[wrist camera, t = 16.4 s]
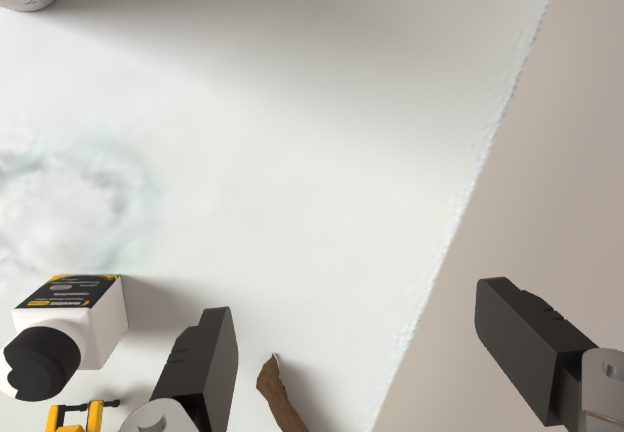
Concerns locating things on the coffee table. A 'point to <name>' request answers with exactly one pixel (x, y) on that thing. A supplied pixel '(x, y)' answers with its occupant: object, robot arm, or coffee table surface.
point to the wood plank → (278, 398)
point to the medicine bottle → (62, 334)
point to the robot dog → (95, 410)
